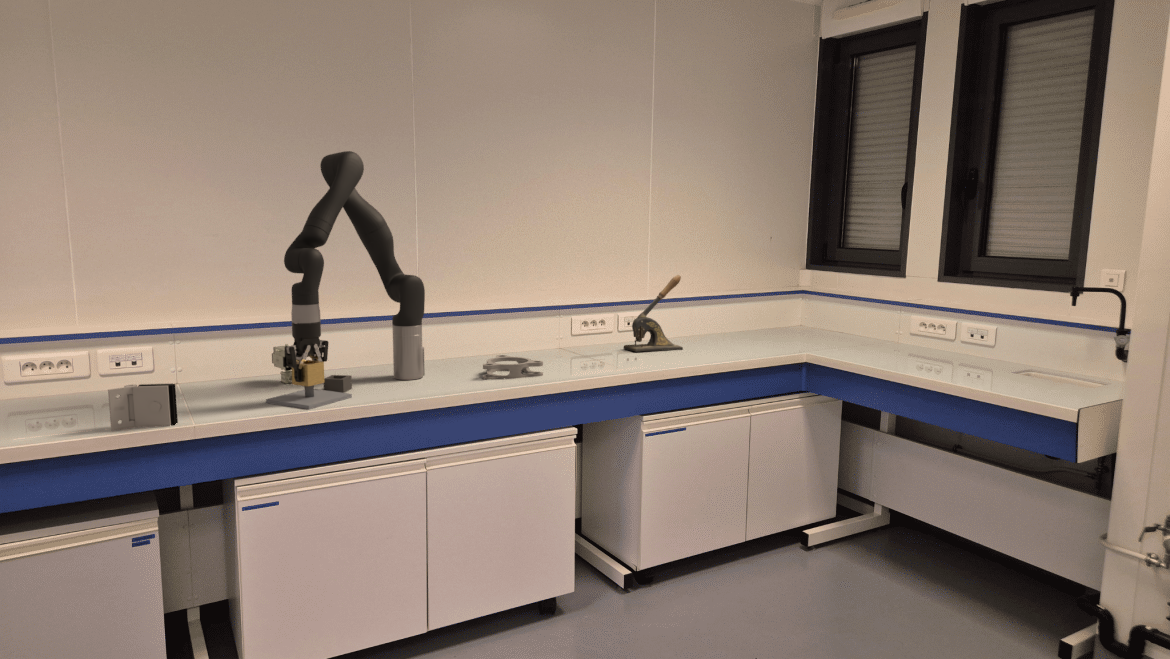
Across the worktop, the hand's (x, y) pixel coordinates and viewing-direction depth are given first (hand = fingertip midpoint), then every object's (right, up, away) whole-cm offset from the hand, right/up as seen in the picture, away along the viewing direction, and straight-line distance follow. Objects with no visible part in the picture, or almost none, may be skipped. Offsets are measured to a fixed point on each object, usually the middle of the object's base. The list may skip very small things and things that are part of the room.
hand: (308, 379), depth 211 cm
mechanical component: (+52, -1, +42) cm, 67 cm away
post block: (0, -6, +1) cm, 6 cm away
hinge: (-30, -10, -28) cm, 42 cm away
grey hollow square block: (+4, -4, +13) cm, 14 cm away
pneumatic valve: (-15, -3, +24) cm, 28 cm away
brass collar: (0, -1, 0) cm, 1 cm away
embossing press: (+106, +6, +93) cm, 141 cm away
